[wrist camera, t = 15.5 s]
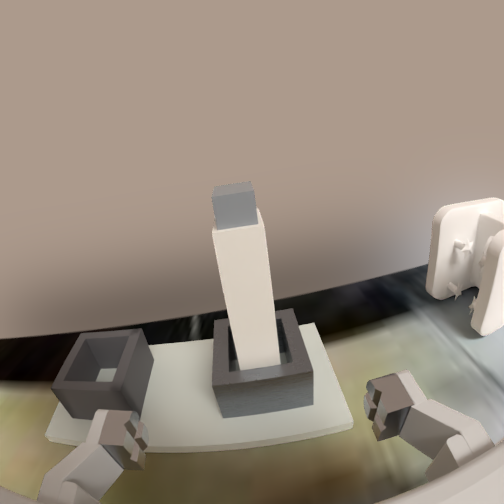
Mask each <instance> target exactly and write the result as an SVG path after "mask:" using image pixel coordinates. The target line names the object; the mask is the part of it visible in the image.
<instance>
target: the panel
mask: <svg viewBox="0 0 504 504" xmlns="http://www.w3.org/2000/svg"><path fill="white" fill-rule="evenodd" d="M299 329H300V332H301V335H302V338H303V341H304V344H305V347H306V350H307V353H308V356H309V359H310V362H311V365H312V368H313V372H314V405H310V406H305V407H300V408H295V409H289V410H284V411H278V412H271V413H265V414H258V415H250V416H242V417H233V418H223V417H222V414H221V411H220V408H219V405H218V402H217V400H216V397H215V394H214V391H213V388H212V366H213V341H214V339H207V340H199V341H190V342H180V343H170V344H159V345H148V344H147V341H146V339H145V336H144V334H143V331H142V329H132V330H120V331H108V332H94V333H81V334H80V336H79V337H78V339H77V341H76V343H75V344H74V346H73V348H72V350H71V351H70V353H69V355H68V357H67V359H66V360H65V362H64V364H63V366H62V368H61V370H60V371H59V373H58V375H57V377H56V379H55V381H54V383H53V385H52V387H51V389H52V391H53V392H54V394H55V395H56V397H57V398H58V399H59V403H58V405H57V408H56V410H55V412H54V414H53V417H52V419H51V421H50V424H49V426H48V428H47V431H46V433H45V436H46V437H47V438H48V440H49V441H50V442H55V443H61V444H67V445H73V446H79V445H80V444H81V443H82V442H83V443H85V442H86V439H87V436H88V433H89V430H90V427H91V424H92V421H93V418H94V415H95V412H96V411H97V410H98V409H104V410H120V411H136V412H137V413H138V415H139V416H140V417H139V421H140V422H142V423H144V424H145V426H146V428H147V431H148V436H149V442H148V447H147V448H146V449H145V450H144V451H143V452H150V453H190V452H212V451H226V450H237V449H247V448H255V447H263V446H270V445H277V444H283V443H289V442H294V441H300V440H305V439H310V438H315V437H319V436H324V435H328V434H333V433H337V432H341V431H345V430H348V429H352V427H353V422H354V421H353V419H352V416H351V413H350V411H349V408H348V406H347V403H346V401H345V398H344V396H343V393H342V390H341V388H340V385H339V383H338V380H337V378H336V375H335V373H334V370H333V368H332V365H331V363H330V361H329V358H328V356H327V353H326V351H325V348H324V346H323V343H322V341H321V339H320V336H319V334H318V331H317V329H316V327H315V324H314V323H311V324H306V325H300V326H299ZM279 354H280V364H286V363H287V360H286V356H285V353H279ZM235 361H236V371H240V366H239V362H238V360H235Z"/></svg>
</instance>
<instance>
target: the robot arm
mask: <svg viewBox="0 0 504 504" xmlns="http://www.w3.org/2000/svg"><path fill="white" fill-rule="evenodd" d="M366 388H367V390H368V392H367V393H366V395H365V396H364V409H365V413H366V415H367V418H368V419H369V420H371V421H373V425H372V430H373V432H374V434H375V437H376V439H377V441H381V440H385V439H388V438H391V437H394V436H397V435H399V437H401V438H402V439H404V440H405V441H406V442H408V443H409V444H411V445H412V446H414V447H415V448H416V449H418V450H419V451H421V452H422V453H424V454H425V455H427V456H428V457H430V458H431V459H433V461H432V463H431V464H430V465H429V467H428V468H427V470H426V471H425V475H426V477H427V479H428V483H426V484H424V485H422V486H419V487H417V488H415V489H412V490H410V491H407V492H405V493H402V494H400V495H397V496H395V497H392V498H389V499H386V500H383V501H381V502H378V503H375V504H504V440H503V441H502V442H500V443H499V444H497V445H496V446H495V445H494V444H493V442H492V440H491V439H490V437H489V436H488V434H487V433H486V431H485V429H484V428H483V426H482V425H481V423H480V422H479V421H477V420H475V419H473V418H471V417H468V416H466V415H464V414H462V413H460V412H458V411H456V410H453V409H451V408H449V407H447V406H445V405H443V404H441V403H439V402H437V401H435V400H433V399H429V400H427V398H426V397H425V395H424V393H423V392H422V390H421V389H420V387H419V386H418V384H417V382H416V381H415V379H414V378H413V376H412V375H411V373H410V372H409V371H408V370H407V369H406V370H403V371H400V372H397V373H394V374H393V373H392V374H389V375H386V376H383V377H379V378H376V379H372V380H369V381H368V382H367V386H366ZM139 417H140V416H139V415H138V413H137V412H136V411H120V410H104V409H98V410H97V411H96V412H95V415H94V418H93V421H92V424H91V427H90V430H89V433H88V436H87V439H86V442H85V443H83V442H82V443H81V444H80V445H79V446H77V447H76V448H75V449H74V450H73V451H72V452H71V453H69V454H68V455H67V456H66V457H65V458H64V459H62V460H61V461H60V462H59V463H58V464H57V465H55V466H54V467H53V468H52V469H51V470H49V471H48V472H47V473H46V474H45V475H44V478H43V482H42V485H41V488H40V491H39V494H38V498H37V501H36V500H33V499H31V498H28V497H25V496H23V495H20V494H18V493H15V492H13V491H11V490H8V489H6V488H4V487H2V486H0V504H101V503H100V502H98V501H99V500H100V499H101V498H102V496H103V495H104V494H105V493H106V492H107V490H108V489H109V488H110V487H111V485H112V484H113V483H114V482H115V481H116V479H117V478H118V477H119V476H120V475H121V473H122V472H123V471H124V470H123V469H128V470H144V467H145V461H146V455H145V453H144V452H143V451H144V450H145V449H146V448H147V447H148V442H149V436H148V431H147V428H146V426H145V424H144V423H142V422H140V421H139Z"/></svg>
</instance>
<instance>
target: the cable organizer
mask: <svg viewBox="0 0 504 504" xmlns="http://www.w3.org/2000/svg"><path fill="white" fill-rule="evenodd" d="M474 286H476V287H478V288H479V293H478V297H477V299H475V295H474V299H473V302H472V304H471V305H470V306H469V307H468V308H470V309H471V310H470V314H471V312H472V310H473V309H474V312H473V316H472V320H471V326H472V328H473V329H475V330H476V331H477V332H478V333H479V334H480V335H482V336H487V335H489V334H491V333H493V332H494V331H496V330H497V329H499V328H501V327H502V326H504V201H503V200H501V199H498V198H496V197H492V198H486V199H480V200H474V201H468V202H462V203H457V204H451V205H445V206H443V207H442V208H440V209H439V210H438V212H437V213H436V214H435V216H434V218H433V222H432V234H431V245H430V255H429V264H428V272H427V279H426V291H427V292H428V293H429V294H430V295H432V296H433V297H434V298H436V299H439V300H444V299H446V298H449V297H451V296H454V295H456V297H455V300H456V299H457V297H458V295H461V291H462V290H465V289H467V288H470V287H474Z"/></svg>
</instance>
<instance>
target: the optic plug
mask: <svg viewBox="0 0 504 504" xmlns="http://www.w3.org/2000/svg"><path fill="white" fill-rule="evenodd" d="M212 202H213V208H214V214H215V219H214V225H213V230H212V236H213V242H214V247H215V252H216V257H217V262H218V267H219V273H220V278H221V282H222V287H223V292H224V297H225V302H226V307H227V312H228V316H229V321H230V326H231V330H232V335H233V340H234V344H235V349H236V353H237V358H238V362H239V366H240V370H248V369H255V368H262V367H268V366H274V365H280V354H279V345H278V336H277V328H276V319H275V310H274V301H273V293H272V284H271V277H270V268H269V260H268V251H267V243H266V235H265V227H264V223H263V221H262V217H261V214H260V211H259V208H256V202H255V195H254V189H253V187H252V184H251V182H250V181H249V182H242V183H236V184H229V185H223V186H216V187H214V191H213V194H212Z"/></svg>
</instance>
